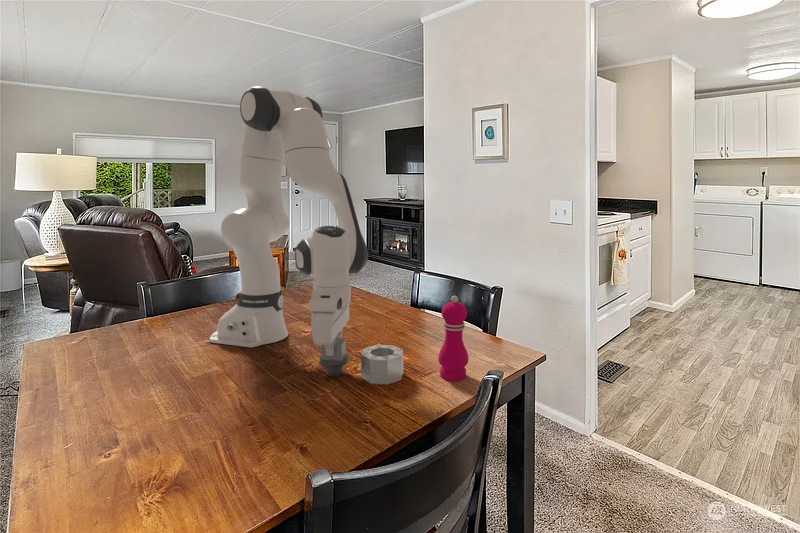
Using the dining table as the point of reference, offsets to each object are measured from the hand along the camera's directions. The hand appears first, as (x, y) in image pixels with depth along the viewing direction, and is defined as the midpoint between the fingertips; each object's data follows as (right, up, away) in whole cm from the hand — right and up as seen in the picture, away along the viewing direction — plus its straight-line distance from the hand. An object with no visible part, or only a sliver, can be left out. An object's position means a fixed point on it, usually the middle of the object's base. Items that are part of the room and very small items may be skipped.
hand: (333, 350), depth 113 cm
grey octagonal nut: (+12, -6, 0) cm, 13 cm away
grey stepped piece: (0, -6, +1) cm, 6 cm away
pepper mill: (+29, -6, 0) cm, 30 cm away
